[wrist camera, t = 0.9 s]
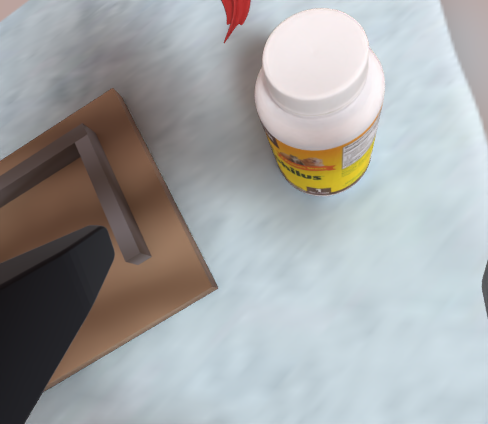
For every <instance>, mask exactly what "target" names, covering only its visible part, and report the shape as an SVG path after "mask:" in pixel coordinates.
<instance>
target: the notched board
mask: <svg viewBox="0 0 488 424" xmlns="http://www.w3.org/2000/svg"><path fill="white" fill-rule="evenodd" d="M89 225H100V226H104V227H106V228H107V230H108V233H109V236H110V239H111V242H112V245H113V248H114V251H115V257H114V261H113V263H112V265H111V267H110V270H109V272H108V274H107V276H106V278H105V281H104V283H103V285H102V287H101V289H100V292H99V294H98V296H97V298H96V300H95V302H94V304H93V306H92V308H91V310H90V312H89V314H88V316H87V317H86V319H85V321H84V323H83V324H82V326H81V328H80V329H79V331H78V333H77V335H76V336H75V338H74V340H73V341H72V343H71V345H70V347H69V348H68V350H67V352H66V353H65V355H64V357H63V359H62V360H61V362H60V364H59V365H58V367H57V369H56V370H55V372H54V374H53V376H52V377H51V379H50V381H49V382H48V384H47V386H46V388H45V389H44V391H46V390H48V389H49V388H51V387H53V386H54V385H56V384H58V383H59V382H61V381H63V380H65V379H66V378H68V377H70V376H71V375H73V374H75V373H76V372H78V371H80V370H81V369H83V368H85V367H86V366H88V365H90V364H92V363H93V362H95V361H97V360H98V359H100V358H102V357H103V356H105V355H107V354H108V353H110V352H112V351H113V350H115V349H117V348H119V347H120V346H122V345H124V344H125V343H127V342H129V341H130V340H132V339H134V338H135V337H137V336H139V335H140V334H142V333H144V332H146V331H147V330H149V329H151V328H152V327H154V326H156V325H157V324H159V323H161V322H162V321H164V320H166V319H167V318H169V317H171V316H173V315H174V314H176V313H178V312H179V311H181V310H183V309H184V308H186V307H188V306H189V305H191V304H193V303H194V302H196V301H198V300H200V299H201V298H203V297H205V296H206V295H208V294H210V293H211V292H213V291H215V290H216V289H218V287H217V285H216V283H215V281H214V279H213V277H212V275H211V273H210V271H209V269H208V267H207V265H206V263H205V261H204V259H203V257H202V255H201V253H200V251H199V249H198V247H197V245H196V243H195V241H194V239H193V237H192V235H191V233H190V231H189V229H188V227H187V225H186V223H185V221H184V219H183V217H182V215H181V213H180V211H179V209H178V207H177V205H176V203H175V201H174V199H173V198H172V196H171V194H170V192H169V190H168V188H167V186H166V184H165V182H164V180H163V178H162V176H161V174H160V172H159V170H158V168H157V166H156V164H155V162H154V160H153V158H152V156H151V154H150V152H149V150H148V148H147V146H146V144H145V142H144V140H143V138H142V136H141V134H140V132H139V130H138V128H137V126H136V124H135V122H134V120H133V118H132V116H131V114H130V112H129V110H128V108H127V106H126V104H125V103H124V101H123V99H122V97H121V96H120V95H119V94H118V93H117V92H116V91H115V90H114V89H113V88H112V89H110V90H109V91H107V92H106V93H104V94H103V95H101V96H100V97H98V98H96V99H95V100H93V101H92V102H90V103H89V104H87V105H86V106H84V107H83V108H81V109H79V110H78V111H76V112H75V113H73V114H72V115H70V116H69V117H67V118H66V119H64V120H63V121H61V122H59V123H58V124H56V125H55V126H53V127H52V128H50V129H49V130H47V131H46V132H44V133H43V134H41V135H39V136H38V137H36V138H35V139H33V140H32V141H30V142H29V143H27V144H26V145H24V146H22V147H21V148H19V149H18V150H16V151H15V152H13V153H12V154H10V155H9V156H7V157H6V158H4V159H2V160H1V161H0V263H2V262H4V261H7V260H9V259H11V258H14V257H16V256H18V255H21V254H23V253H25V252H28V251H30V250H32V249H35V248H37V247H39V246H42V245H44V244H46V243H49V242H51V241H53V240H56V239H58V238H60V237H63V236H65V235H67V234H70V233H72V232H74V231H77V230H79V229H81V228H84V227H86V226H89ZM44 391H43V392H44Z"/></svg>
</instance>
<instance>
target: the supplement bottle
mask: <svg viewBox="0 0 488 424" xmlns="http://www.w3.org/2000/svg"><path fill="white" fill-rule="evenodd" d="M262 64H263V66H262V67H261V69H260V72H259V74H258V77H257V80H256V85H255V104H256V109H257V112H258V115H259V118H260V121H261V123H262V125H263V128H264V130H265V133H266V135H267V138H268V141H269V143H270V146H271V148H272V151H273V153H274V156H275V158H276V161H277V163H278V166H279V168H280V170H281V172H282V174H283V176H284V177H285V179H286V180H287V181H288V182H289V183H290V184H291V185H292V186H293V187H295V188H296V189H298V190H299V191H301V192H304V193H306V194H310V195H314V196H331V195H336V194H339V193H341V192H344V191H346V190H347V189H349V188H351V187H352V186H353V185H355V184H356V183H357V182H358V181H359V180H360V179H361V177H362V176H363V175H364V173H365V171H366V170H367V168H368V165H369V163H370V159H371V154H372V150H373V145H374V141H375V136H376V132H377V127H378V122H379V118H380V113H381V109H382V104H383V99H384V93H385V77H384V72H383V69H382V66H381V63H380V61H379V59H378V57H377V56H376V55H375V53H374V52H373V51H372V49H371V48H370V47H369V42H368V38H367V36H366V33H365V31H364V29H363V28H362V26H361V25H360V24H359V23H358V22H357V21H356V20H355V19H354V18H352V17H351V16H349V15H348V14H346V13H344V12H341V11H338V10H335V9H329V8H316V9H309V10H305V11H302V12H299V13H296V14H294V15H292V16H290V17H289V18H287V19H286V20H284V21H283V22H282V23H280V24H279V25H278V26H277V27H276V28H275V29H274V31H273V32H272V33H271V35H270V36H269V38H268V40H267V42H266V44H265V47H264V50H263V56H262Z"/></svg>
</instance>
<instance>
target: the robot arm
mask: <svg viewBox="0 0 488 424" xmlns="http://www.w3.org/2000/svg"><path fill="white" fill-rule="evenodd" d="M114 257H115V251H114V248H113V245H112V242H111V239H110V236H109V233H108V230H107V228H106V227H104V226H100V225H89V226H86V227H84V228H81V229H79V230H77V231H74V232H72V233H70V234H67V235H65V236H63V237H60V238H58V239H56V240H53V241H51V242H49V243H46V244H44V245H42V246H39V247H37V248H35V249H32V250H30V251H28V252H25V253H23V254H21V255H18V256H16V257H14V258H11V259H9V260H7V261H4V262H2V263H0V424H25V422H26V420H27V418H28V417H29V415H30V413H31V412H32V410H33V408H34V406H35V405H36V403H37V401H38V400H39V398H40V396H41V394H42V393H43V391H44V389H45V388H46V386H47V384H48V382H49V381H50V379H51V377H52V376H53V374H54V372H55V370H56V369H57V367H58V365H59V364H60V362H61V360H62V359H63V357H64V355H65V353H66V352H67V350H68V348H69V347H70V345H71V343H72V341H73V340H74V338H75V336H76V335H77V333H78V331H79V329H80V328H81V326H82V324H83V323H84V321H85V319H86V317H87V316H88V314H89V312H90V310H91V308H92V306H93V304H94V302H95V300H96V298H97V296H98V294H99V292H100V289H101V287H102V285H103V283H104V281H105V278H106V276H107V274H108V272H109V270H110V267H111V265H112V263H113V261H114ZM482 292H483V297H484V302H485V307H486V312H487V317H488V261H487V265H486V268H485V272H484V275H483V279H482Z"/></svg>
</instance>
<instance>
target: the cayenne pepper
mask: <svg viewBox="0 0 488 424" xmlns="http://www.w3.org/2000/svg"><path fill="white" fill-rule="evenodd" d="M222 2H223V5H224V7H225V10H226V15H227V25H228V24H231V25H230V28H229V30H228V33H227V36H226V38H225V41H224V43H225V42H226V40H227V39H228V37H229V36H230V34H231V33H232V31H233V30H234V29H235V27H236V26H237V25H238V24H240V25H242V24H243V23H244V21H245V20H246V17H247V15H248V12H249V8H250V0H222Z"/></svg>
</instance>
